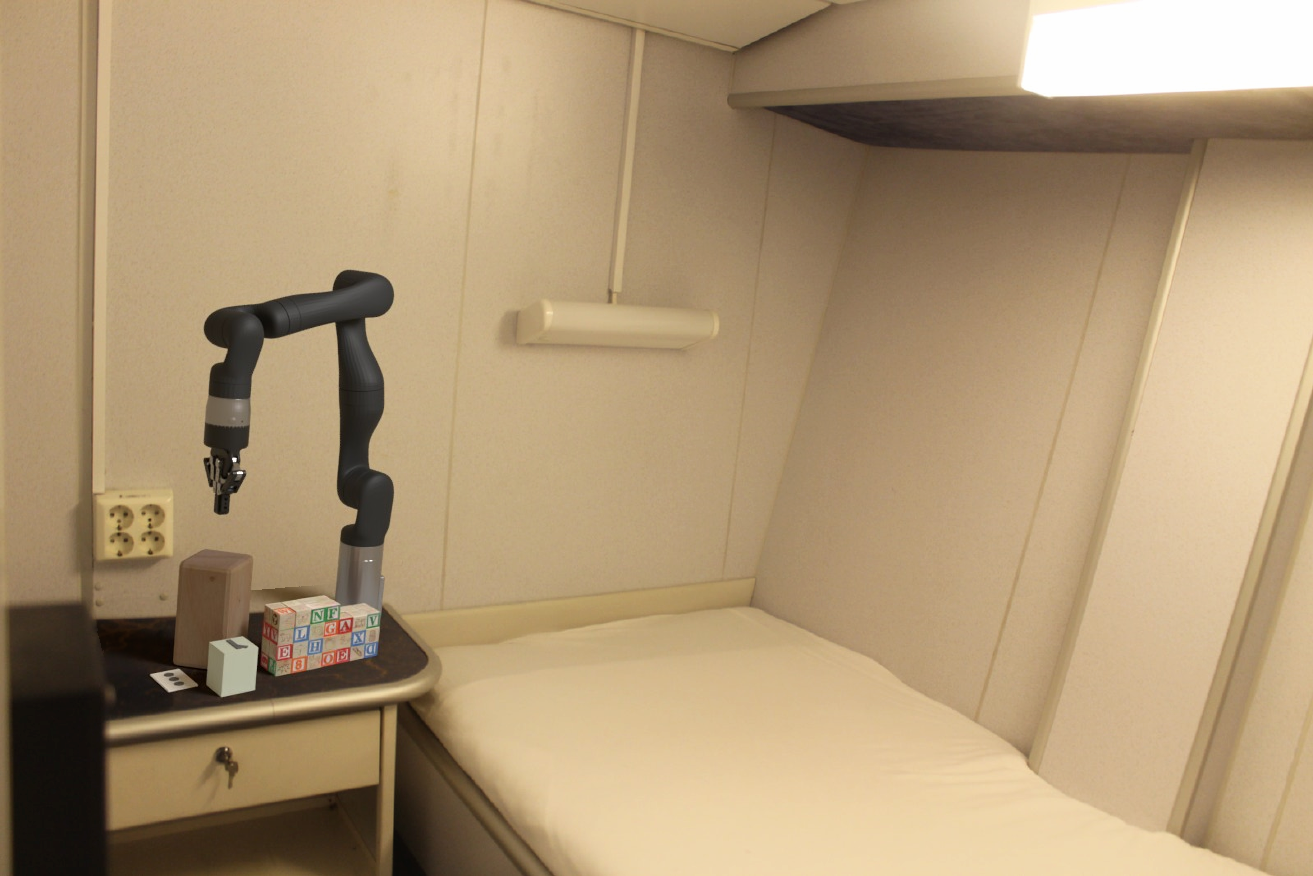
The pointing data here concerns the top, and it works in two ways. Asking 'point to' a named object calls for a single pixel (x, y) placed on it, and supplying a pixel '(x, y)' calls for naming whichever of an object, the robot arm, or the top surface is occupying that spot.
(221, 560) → the wooden block
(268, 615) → the stack of blocks
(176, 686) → the count card
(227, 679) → the digit block
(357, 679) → the top surface
